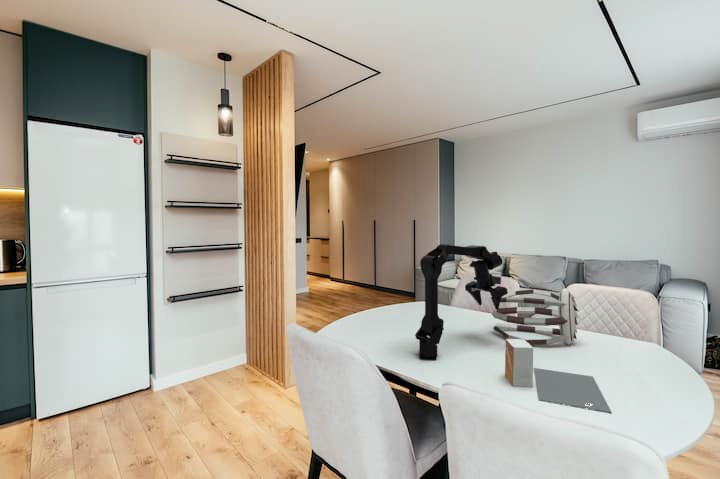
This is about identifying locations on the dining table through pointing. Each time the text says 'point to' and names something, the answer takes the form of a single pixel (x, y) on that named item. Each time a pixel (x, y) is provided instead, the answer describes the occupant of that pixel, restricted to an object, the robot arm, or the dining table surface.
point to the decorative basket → (564, 318)
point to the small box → (519, 362)
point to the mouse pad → (569, 389)
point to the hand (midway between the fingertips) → (488, 307)
